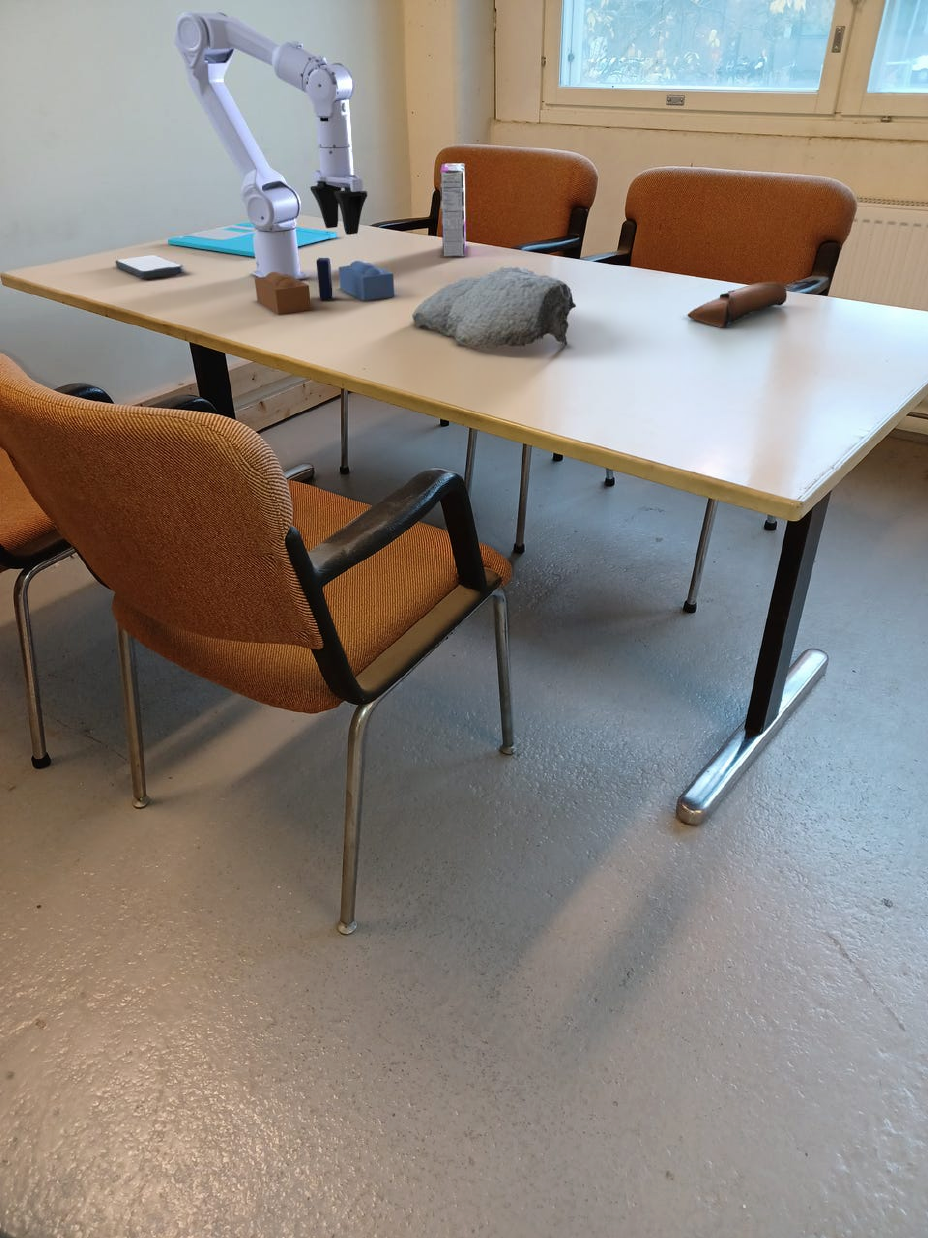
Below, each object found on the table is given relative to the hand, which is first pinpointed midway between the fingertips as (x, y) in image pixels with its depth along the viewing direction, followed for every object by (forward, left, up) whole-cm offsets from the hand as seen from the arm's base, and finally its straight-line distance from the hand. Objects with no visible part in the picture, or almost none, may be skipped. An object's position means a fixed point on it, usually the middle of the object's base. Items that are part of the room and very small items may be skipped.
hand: (341, 230), depth 160 cm
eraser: (+8, -8, -10) cm, 15 cm away
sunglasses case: (+54, +46, -10) cm, 72 cm away
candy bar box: (-14, +32, -10) cm, 36 cm away
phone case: (-32, -28, -10) cm, 44 cm away
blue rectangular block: (+8, 0, -9) cm, 12 cm away
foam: (+41, +7, -10) cm, 43 cm away
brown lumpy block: (+8, -16, -9) cm, 20 cm away
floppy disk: (-49, 0, -9) cm, 50 cm away
